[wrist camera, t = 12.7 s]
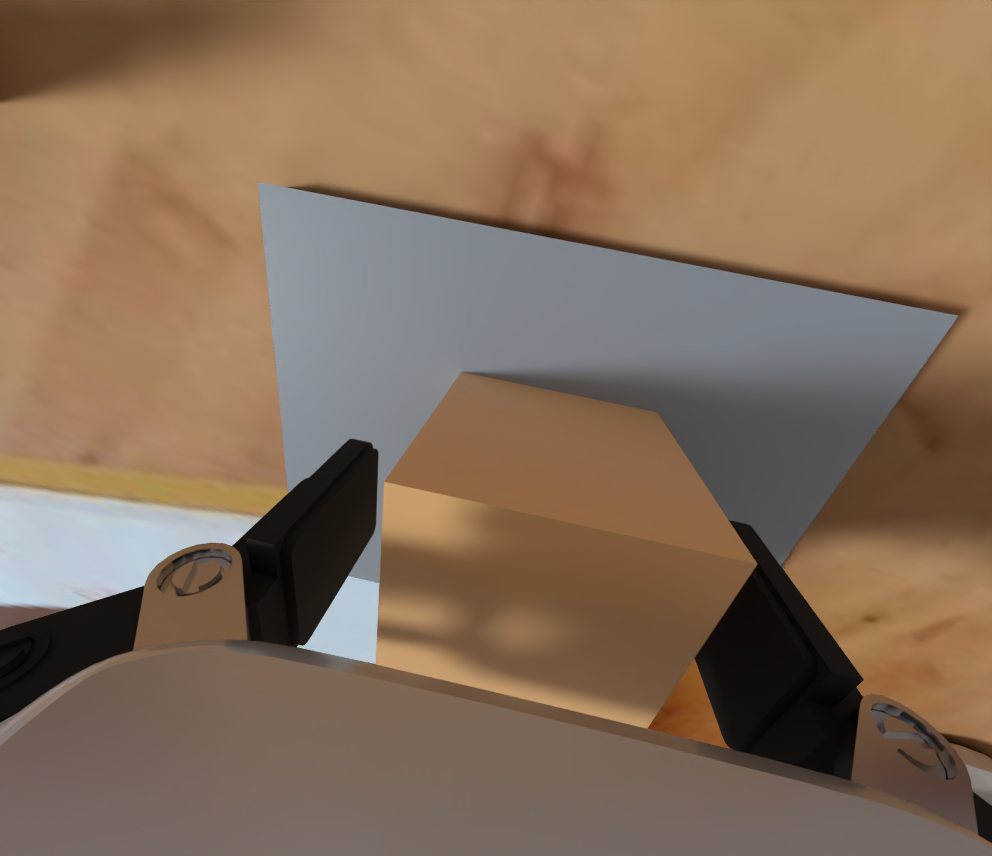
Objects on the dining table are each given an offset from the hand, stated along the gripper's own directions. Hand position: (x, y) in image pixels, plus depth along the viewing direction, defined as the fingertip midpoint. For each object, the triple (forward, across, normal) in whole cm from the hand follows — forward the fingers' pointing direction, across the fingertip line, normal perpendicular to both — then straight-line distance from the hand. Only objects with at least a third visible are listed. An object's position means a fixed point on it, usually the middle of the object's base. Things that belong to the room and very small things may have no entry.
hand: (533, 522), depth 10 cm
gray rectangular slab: (+3, 0, 0) cm, 3 cm away
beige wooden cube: (+2, 0, 0) cm, 2 cm away
